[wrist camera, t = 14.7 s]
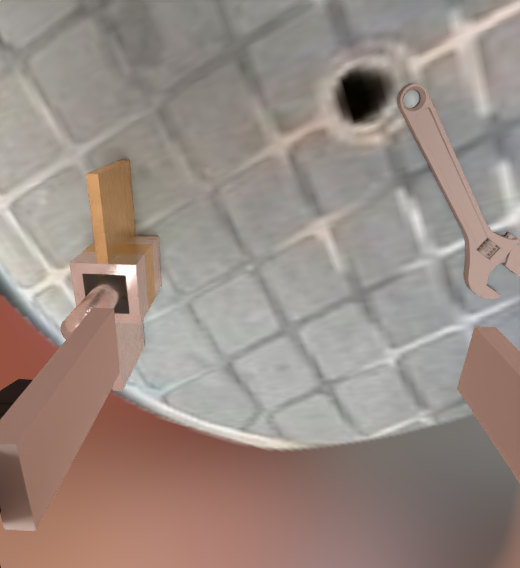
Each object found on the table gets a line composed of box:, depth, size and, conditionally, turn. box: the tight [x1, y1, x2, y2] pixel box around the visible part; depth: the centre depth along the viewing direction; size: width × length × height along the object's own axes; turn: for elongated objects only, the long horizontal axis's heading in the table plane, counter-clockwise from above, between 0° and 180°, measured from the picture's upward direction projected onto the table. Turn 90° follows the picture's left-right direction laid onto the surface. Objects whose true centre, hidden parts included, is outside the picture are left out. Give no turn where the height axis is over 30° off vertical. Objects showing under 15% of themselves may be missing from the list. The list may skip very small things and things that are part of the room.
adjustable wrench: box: [398, 84, 520, 299], centre depth 45 cm, size 25×6×2 cm, turn 29°
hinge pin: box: [61, 274, 127, 339], centre depth 41 cm, size 2×2×16 cm
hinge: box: [70, 160, 162, 391], centre depth 44 cm, size 22×6×9 cm, turn 178°
